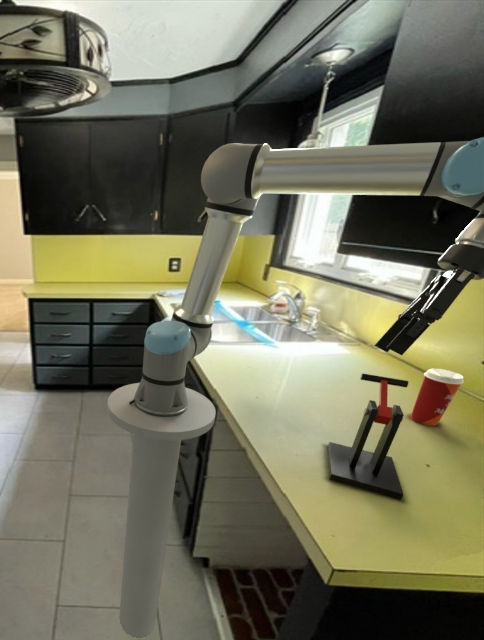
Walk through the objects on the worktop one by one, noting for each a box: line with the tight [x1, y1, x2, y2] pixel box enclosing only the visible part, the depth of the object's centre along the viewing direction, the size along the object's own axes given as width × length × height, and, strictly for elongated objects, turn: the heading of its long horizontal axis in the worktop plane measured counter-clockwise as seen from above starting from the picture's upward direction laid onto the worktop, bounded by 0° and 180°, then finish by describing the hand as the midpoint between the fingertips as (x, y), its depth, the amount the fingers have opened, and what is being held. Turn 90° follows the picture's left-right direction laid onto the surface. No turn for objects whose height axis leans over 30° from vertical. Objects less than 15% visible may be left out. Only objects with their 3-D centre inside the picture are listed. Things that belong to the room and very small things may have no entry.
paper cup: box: [410, 368, 465, 427], centre depth 96 cm, size 8×8×14 cm
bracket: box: [327, 399, 405, 501], centre depth 76 cm, size 14×12×16 cm
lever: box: [360, 373, 410, 426], centre depth 76 cm, size 12×8×2 cm, turn 150°
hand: (386, 350), depth 74 cm, fingers open, 13 cm apart
